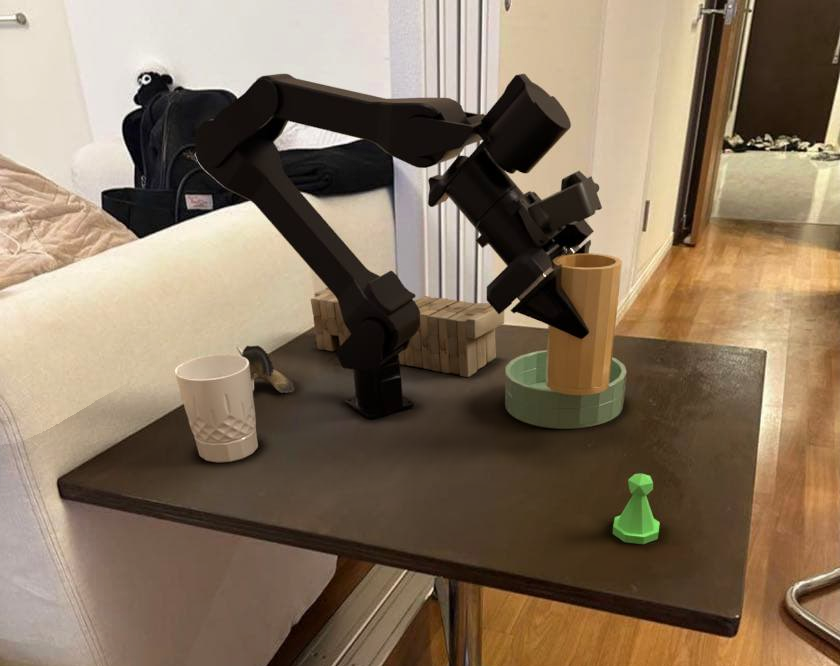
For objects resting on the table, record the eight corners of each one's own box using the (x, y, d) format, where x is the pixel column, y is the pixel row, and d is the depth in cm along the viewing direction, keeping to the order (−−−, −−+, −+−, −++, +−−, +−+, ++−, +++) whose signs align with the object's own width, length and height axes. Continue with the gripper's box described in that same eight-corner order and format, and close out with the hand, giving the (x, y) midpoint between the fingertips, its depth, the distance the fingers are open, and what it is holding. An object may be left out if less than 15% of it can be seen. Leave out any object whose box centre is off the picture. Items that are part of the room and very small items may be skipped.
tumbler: (539, 391, 85) (545, 266, 78) (553, 370, 90) (560, 251, 83) (603, 398, 82) (615, 270, 76) (613, 376, 88) (626, 255, 81)
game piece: (667, 542, 70) (675, 483, 67) (619, 546, 70) (625, 487, 67) (650, 517, 74) (658, 460, 71) (605, 521, 74) (610, 464, 70)
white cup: (203, 472, 86) (184, 385, 81) (186, 445, 92) (167, 363, 87) (272, 454, 89) (258, 369, 84) (251, 429, 95) (237, 349, 90)
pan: (482, 400, 99) (481, 366, 96) (568, 374, 105) (570, 341, 102) (556, 439, 89) (558, 402, 86) (647, 407, 95) (652, 371, 92)
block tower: (310, 353, 119) (477, 379, 104) (301, 297, 115) (474, 316, 100) (343, 337, 125) (505, 360, 110) (335, 283, 120) (504, 299, 105)
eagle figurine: (211, 394, 102) (272, 385, 99) (209, 339, 102) (269, 329, 99) (244, 404, 109) (301, 396, 106) (242, 353, 110) (299, 344, 106)
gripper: (520, 160, 68) (635, 300, 70) (580, 134, 82) (675, 251, 84) (440, 250, 75) (546, 374, 77) (507, 211, 89) (596, 317, 91)
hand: (594, 325), depth 82 cm, fingers closed on tumbler, 7 cm apart
